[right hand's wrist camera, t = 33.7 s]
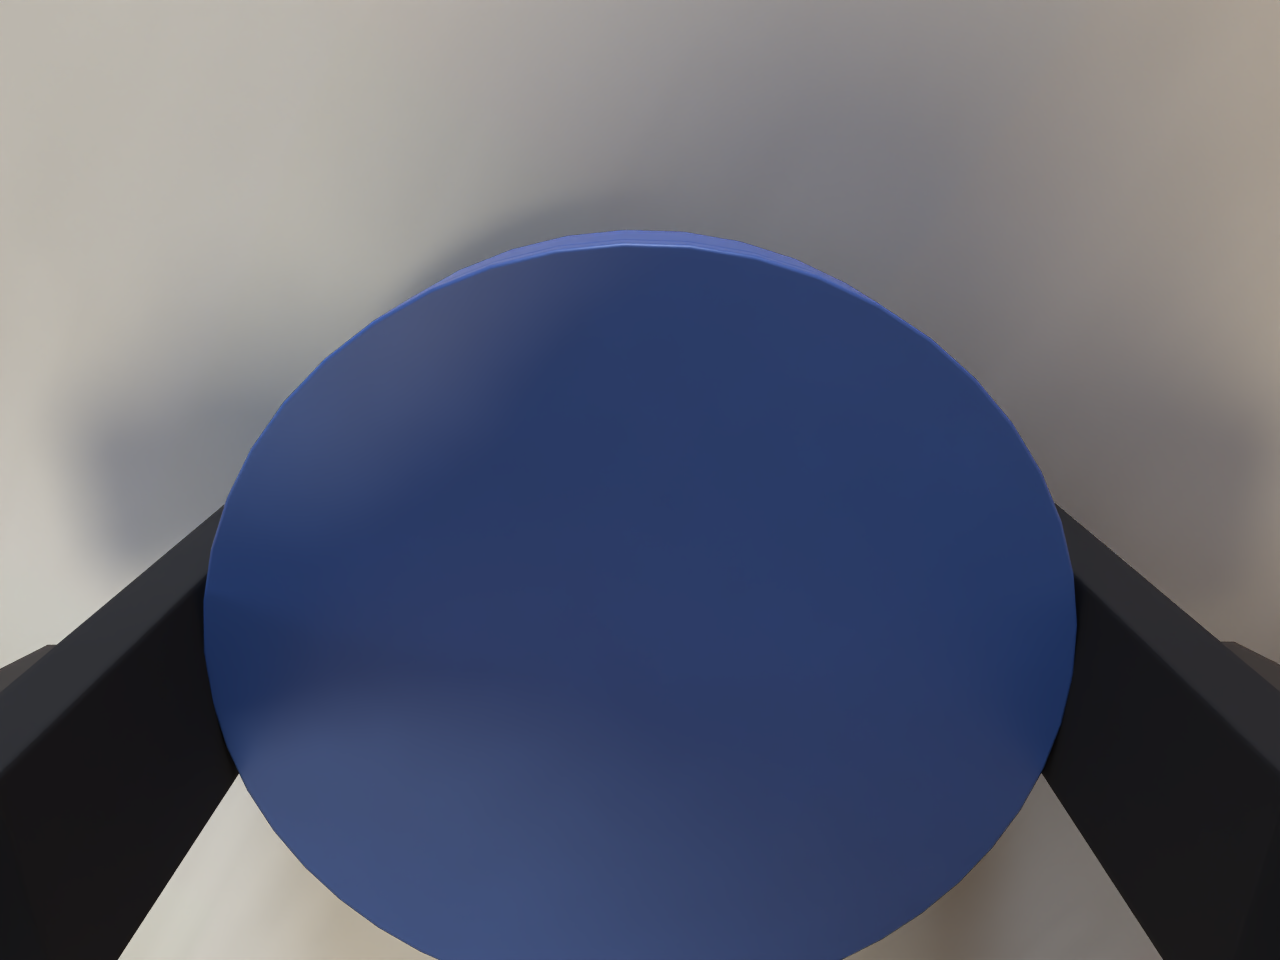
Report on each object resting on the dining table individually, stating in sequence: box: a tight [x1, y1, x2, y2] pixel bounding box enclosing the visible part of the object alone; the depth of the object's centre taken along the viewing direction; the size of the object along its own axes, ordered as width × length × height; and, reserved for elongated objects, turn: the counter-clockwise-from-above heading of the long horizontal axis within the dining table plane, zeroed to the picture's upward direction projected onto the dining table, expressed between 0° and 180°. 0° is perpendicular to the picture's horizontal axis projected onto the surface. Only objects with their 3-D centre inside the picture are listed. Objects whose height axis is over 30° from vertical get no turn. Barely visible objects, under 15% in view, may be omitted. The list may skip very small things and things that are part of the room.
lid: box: [204, 230, 1077, 960], centre depth 11 cm, size 10×10×2 cm
